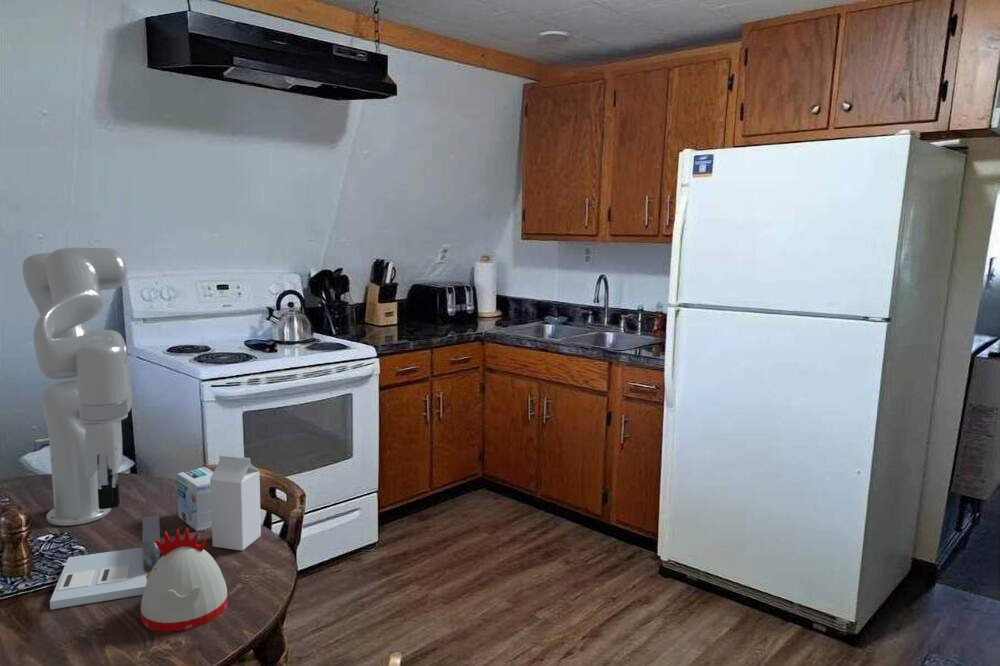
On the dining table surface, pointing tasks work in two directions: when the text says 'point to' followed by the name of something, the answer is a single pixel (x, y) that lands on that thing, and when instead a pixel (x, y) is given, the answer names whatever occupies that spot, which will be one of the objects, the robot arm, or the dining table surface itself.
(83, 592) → the label board
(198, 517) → the light bulb box
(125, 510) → the dining table surface
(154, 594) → the kitchen timer
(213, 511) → the milk carton
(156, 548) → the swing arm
